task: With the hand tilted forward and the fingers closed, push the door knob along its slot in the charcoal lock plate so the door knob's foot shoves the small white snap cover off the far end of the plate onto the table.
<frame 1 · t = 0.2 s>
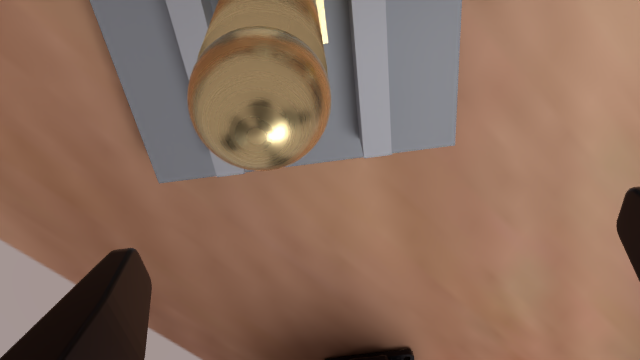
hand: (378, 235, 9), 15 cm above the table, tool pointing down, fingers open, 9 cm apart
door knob: (268, 16, 13), point 8 cm above the table, slide at 0.0 cm
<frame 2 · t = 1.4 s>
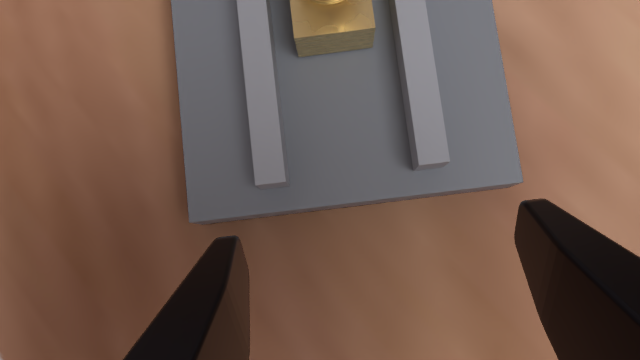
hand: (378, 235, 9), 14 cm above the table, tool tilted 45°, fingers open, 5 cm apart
lock plate: (328, 10, 24), on the table
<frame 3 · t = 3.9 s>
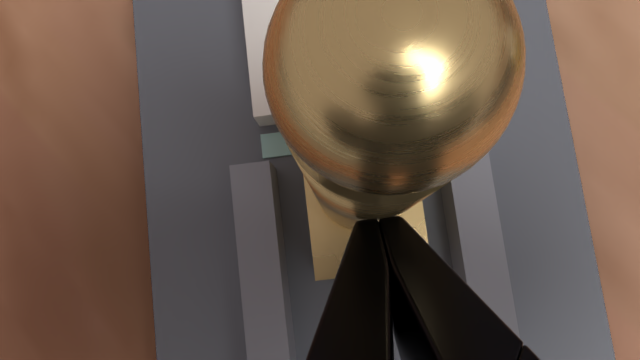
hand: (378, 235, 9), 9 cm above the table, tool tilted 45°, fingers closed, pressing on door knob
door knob: (368, 156, 10), point 8 cm above the table, slide at 0.9 cm, touching gripper
lock plate: (359, 209, 18), on the table
cover: (338, 29, 17), point 2 cm above the table, touching lock plate
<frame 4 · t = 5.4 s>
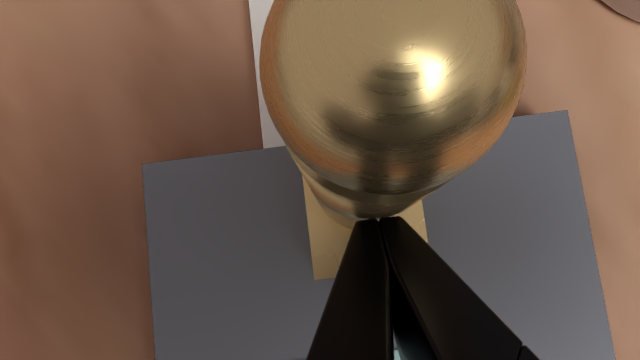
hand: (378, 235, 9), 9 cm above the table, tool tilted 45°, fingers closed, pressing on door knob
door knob: (367, 155, 10), point 8 cm above the table, slide at 8.2 cm, touching gripper
cover: (338, 74, 19), on the table
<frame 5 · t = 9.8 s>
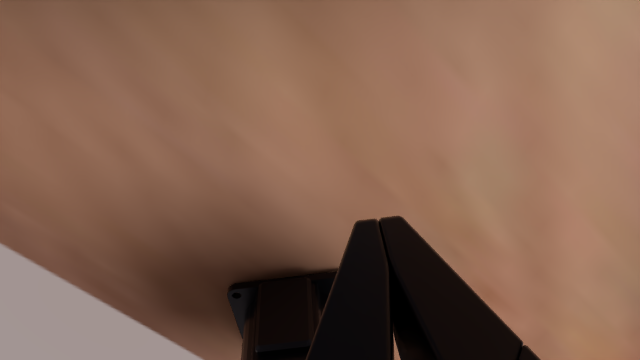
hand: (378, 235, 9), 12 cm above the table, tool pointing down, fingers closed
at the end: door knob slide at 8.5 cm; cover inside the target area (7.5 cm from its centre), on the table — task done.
